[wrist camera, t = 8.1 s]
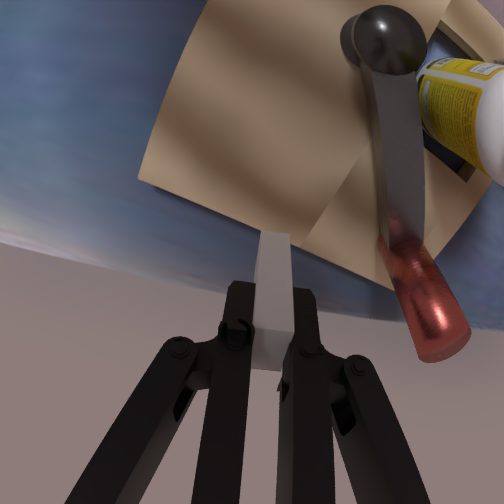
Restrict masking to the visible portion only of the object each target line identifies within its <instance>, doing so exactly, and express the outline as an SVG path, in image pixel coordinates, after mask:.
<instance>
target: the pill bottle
mask: <svg viewBox="0 0 504 504" xmlns="http://www.w3.org/2000/svg"><path fill="white" fill-rule="evenodd" d="M416 80H417V87H418V94H419V101H420V110H421V119H422V128H423V129H424V131H425V132H426V133H427V134H428V135H429V136H430V137H432V138H433V139H434V140H436V141H437V142H439V143H440V144H442V145H443V146H445V147H447V148H448V149H450V150H451V151H453V152H454V153H456V154H457V155H459V156H460V157H462V158H463V159H465V160H466V161H468V162H469V163H470V164H472V165H473V166H475V167H476V168H477V169H479V170H480V171H481V172H483V173H484V174H485V175H487V176H488V177H489V178H491V179H492V180H493V181H495V182H496V183H498V184H499V185H501V186H502V187H504V65H499V64H493V63H488V62H481V61H475V60H467V59H459V58H438V59H435V60H432V61H430V62H428V63H427V64H426V65H424V66H423V67H422V69H421V70H420V71H419V73H418V74H417V76H416Z"/></svg>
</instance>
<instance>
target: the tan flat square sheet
mask: <svg viewBox="0 0 504 504" xmlns="http://www.w3.org/2000/svg"><path fill="white" fill-rule="evenodd" d="M377 5H392V6H396V7H399V8H401V9H403V10H405V11H407V12H408V13H409V14H411V15H412V16H413V17H414V18H415V19H416V20H417V21H418V23H419V24H420V26H421V27H422V29H423V31H424V34H425V37H426V41H427V43H428V41H429V39H430V38H431V36H432V34H433V32H434V30H435V29H436V27H437V28H438V29H439V30H441V31H442V32H443V33H444V34H445V35H447V36H448V37H449V38H450V39H451V40H452V41H453V42H454V43H455V44H457V45H458V46H459V47H460V48H461V49H462V50H463V51H464V52H465V53H466V54H467V55H468V56H469V57H470V58H471V59H472V60H475V61H481V62H488V63H493V64H494V61H493V60H497V59H504V28H503V27H502V26H501V25H500V24H499V23H498V22H497V21H496V20H495V19H494V17H493V16H492V15H491V14H490V13H489V12H488V11H487V10H486V9H485V8H484V7H483V6H482V5H481V4H480V3H479V2H478V1H477V0H208V1H207V3H206V5H205V7H204V9H203V11H202V13H201V15H200V17H199V19H198V21H197V23H196V25H195V27H194V29H193V31H192V33H191V35H190V37H189V40H188V42H187V44H186V46H185V48H184V51H183V53H182V55H181V57H180V60H179V62H178V64H177V67H176V69H175V72H174V74H173V76H172V79H171V81H170V84H169V86H168V89H167V92H166V94H165V97H164V99H163V102H162V105H161V108H160V110H159V113H158V116H157V119H156V122H155V124H154V127H153V130H152V133H151V136H150V139H149V142H148V145H147V149H146V152H145V155H144V158H143V162H142V165H141V168H140V172H139V175H138V179H140V180H142V181H145V182H147V183H150V184H152V185H154V186H157V187H159V188H162V189H164V190H166V191H169V192H171V193H174V194H176V195H179V196H181V197H183V198H186V199H188V200H190V201H193V202H195V203H198V204H200V205H202V206H205V207H207V208H209V209H212V210H214V211H216V212H219V213H221V214H223V215H226V216H228V217H230V218H233V219H235V220H237V221H240V222H242V223H244V224H247V225H249V226H251V227H254V228H256V229H258V230H260V231H261V230H264V231H272V232H279V233H286V234H290V244H292V245H294V246H297V247H299V248H301V249H303V250H306V251H308V252H310V253H312V254H315V255H317V256H319V257H321V258H323V259H326V260H328V261H330V262H332V263H334V264H337V265H339V266H341V267H343V268H345V269H348V270H350V271H352V272H354V273H356V274H359V275H361V276H363V277H365V278H367V279H369V280H372V281H374V282H376V283H378V284H380V285H382V286H384V287H387V288H389V289H391V290H393V291H395V289H394V287H393V284H392V282H391V279H390V277H389V275H388V272H387V270H386V267H385V265H384V263H383V260H382V258H381V256H380V253H379V251H378V248H377V240H378V237H379V235H380V233H381V231H380V212H379V197H378V185H377V174H376V165H375V156H374V148H373V140H372V133H371V126H370V120H369V114H368V108H367V102H366V96H365V91H364V86H363V81H362V76H361V71H360V67H359V62H358V58H357V53H356V51H355V49H354V46H353V43H352V37H351V32H352V26H353V23H354V21H355V19H356V18H357V17H358V16H359V14H361V13H362V12H363V11H365V10H367V9H369V8H371V7H374V6H377ZM424 162H425V224H424V245H425V247H426V248H427V250H428V251H429V253H430V255H431V256H432V258H433V260H434V259H435V258H436V256H437V255H438V254H439V253H440V252H441V250H442V249H443V248H444V247H445V245H446V244H447V243H448V242H449V241H450V239H451V238H452V237H453V235H454V234H455V233H456V232H457V230H458V229H459V228H460V227H461V225H462V224H463V223H464V221H465V220H466V219H467V217H468V216H469V215H470V213H471V212H472V210H473V209H474V208H475V206H476V205H477V204H478V202H479V201H480V199H481V198H482V196H483V195H484V194H485V192H486V191H487V189H488V188H489V186H490V185H491V183H492V182H493V180H492V179H491V178H489V177H488V176H487V175H485V174H484V173H483V172H481V171H480V170H479V169H477V168H476V167H475V166H473V165H472V164H470V163H469V162H468V161H466V160H465V162H464V163H463V165H462V166H461V168H460V169H459V171H458V172H457V174H456V173H455V172H454V171H452V170H451V169H450V168H449V167H448V166H447V165H445V164H444V163H443V162H442V161H441V160H439V159H438V158H437V157H436V156H435V155H433V154H432V153H431V152H430V151H428V150H427V149H426V148H424Z"/></svg>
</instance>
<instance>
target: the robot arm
mask: <svg viewBox="0 0 504 504" xmlns="http://www.w3.org/2000/svg"><path fill="white" fill-rule="evenodd" d="M282 366H283V368H282ZM251 368H252V369H262V370H271V371H281V369H283V370H282V372H283V373H282V377H281V380H280V383H279V385H278V388H277V391H280V403H279V405H280V406H279V437H278V464H277V485H276V504H335V475H334V474H335V471H334V449H333V431H332V427H333V430H334V433H335V436H336V439H337V442H338V445H339V448H340V451H341V455H342V458H343V461H344V464H345V467H346V470H347V473H348V476H349V479H350V482H351V486H352V489H353V492H354V495H355V498H356V502H357V504H431V503H430V500H429V498H428V495H427V492H426V489H425V487H424V484H423V481H422V479H421V476H420V474H419V471H418V468H417V466H416V463H415V461H414V458H413V455H412V453H411V451H410V448H409V446H408V443H407V441H406V439H405V436H404V433H403V431H402V429H401V427H400V424H399V422H398V419H397V417H396V415H395V412H394V410H393V408H392V405H391V403H390V401H389V399H388V396H387V394H386V392H385V390H384V388H383V385H382V383H381V381H380V379H379V377H378V374H377V372H376V370H375V368H374V366H373V364H372V363H371V361H370V360H369V359H367V358H366V357H364V356H361V355H352V356H349V357H348V358H347V359H343V358H341V357H338V356H335V355H333V354H331V353H329V352H328V351H326V349H325V348H324V346H323V345H322V344H321V341H320V334H319V325H318V317H317V308H316V299H315V296H314V295H313V293H312V291H311V290H310V289H304V288H295V287H293V286H292V267H291V250H290V234H286V233H279V232H272V231H264V230H261V234H260V241H259V247H258V253H257V260H256V266H255V274H254V283H250V282H243V281H235V280H234V281H233V282H232V284H231V285H230V286H229V287H228V292H227V298H226V303H225V309H224V314H223V319H222V321H221V322H220V325H219V327H218V335H217V336H216V337H215V338H214V339H212V340H209V341H206V342H200V343H194V342H193V341H192V340H190V339H188V338H186V337H182V336H179V337H173V338H171V339H168V340H167V341H166V342H165V343H164V344H163V346H162V348H161V349H160V351H159V352H158V354H157V355H156V357H155V358H154V360H153V361H152V363H151V364H150V366H149V368H148V369H147V371H146V373H145V374H144V375H143V377H142V378H141V380H140V382H139V383H138V385H137V386H136V388H135V390H134V391H133V393H132V394H131V396H130V397H129V399H128V400H127V402H126V404H125V405H124V407H123V408H122V410H121V411H120V413H119V415H118V416H117V418H116V419H115V421H114V423H113V424H112V426H111V428H110V429H109V431H108V432H107V434H106V436H105V437H104V439H103V440H102V442H101V444H100V445H99V447H98V448H97V450H96V452H95V453H94V455H93V457H92V458H91V460H90V462H89V463H88V465H87V466H86V468H85V470H84V471H83V473H82V475H81V477H80V478H79V480H78V481H77V483H76V485H75V487H74V488H73V490H72V491H71V493H70V495H69V497H68V498H67V500H66V502H65V503H64V504H139V502H140V500H141V498H142V496H143V494H144V492H145V490H146V489H147V487H148V485H149V483H150V481H151V479H152V477H153V475H154V474H155V471H156V470H157V468H158V466H159V464H160V462H161V460H162V458H163V456H164V454H165V452H166V450H167V449H168V447H169V445H170V443H171V441H172V439H173V437H174V435H175V433H176V431H177V429H178V427H179V425H180V423H181V421H182V419H183V417H184V416H185V414H186V412H187V410H188V408H189V406H190V404H191V402H192V400H193V398H194V396H195V394H196V392H197V390H202V389H209V393H208V399H207V405H206V411H205V418H204V424H203V430H202V436H201V442H200V449H199V455H198V461H197V468H196V474H195V480H194V487H193V494H192V500H191V504H239V498H240V487H241V476H242V465H243V452H244V442H245V431H246V419H247V407H248V394H249V383H250V371H251Z"/></svg>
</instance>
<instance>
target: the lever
mask: <svg viewBox="0 0 504 504" xmlns="http://www.w3.org/2000/svg"><path fill="white" fill-rule="evenodd" d="M351 37H352V43H353V46H354V49H355V51H356V53H357V58H358V62H359V67H360V71H361V76H362V81H363V86H364V91H365V96H366V102H367V108H368V114H369V120H370V126H371V133H372V140H373V148H374V156H375V165H376V174H377V185H378V197H379V212H380V231H381V233H380V235H379V237H378V240H377V248H378V251H379V253H380V256H381V258H382V260H383V263H384V265H385V267H386V270H387V272H388V275H389V277H390V279H391V282H392V284H393V287H394V289H395V292H396V295H397V297H398V300H399V302H400V305H401V308H402V310H403V313H404V316H405V319H406V321H407V324H408V327H409V330H410V333H411V336H412V339H413V341H414V345H415V348H416V351H417V354H418V357H419V359H420V360H421V361H423V362H426V363H435V362H439V361H442V360H445V359H447V358H449V357H451V356H453V355H454V354H456V353H457V352H459V351H460V350H461V349H462V348H463V347H464V346H465V345H466V344H467V342H468V341H469V339H470V337H471V328H470V326H469V324H468V322H467V320H466V318H465V316H464V314H463V312H462V310H461V308H460V306H459V304H458V302H457V300H456V298H455V297H454V295H453V293H452V291H451V289H450V287H449V286H448V284H447V282H446V280H445V278H444V277H443V275H442V273H441V271H440V270H439V268H438V266H437V265H436V263H435V261H434V260H433V258H432V256H431V255H430V253H429V251H428V250H427V248H426V247H425V245H424V224H425V162H424V144H423V130H422V119H421V110H420V101H419V94H418V87H417V80H416V74H415V70H417V69H418V68H419V67H420V66H421V64H422V63H423V61H424V59H425V57H426V53H427V41H426V37H425V34H424V31H423V29H422V27H421V26H420V24H419V23H418V21H417V20H416V19H415V18H414V17H413V16H412V15H411V14H409V13H408V12H407V11H405V10H403V9H401V8H399V7H396V6H392V5H377V6H374V7H371V8H369V9H367V10H365V11H363V12H362V13H361V14H359V16H358V17H357V18H356V19H355V21H354V23H353V26H352V32H351Z"/></svg>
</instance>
